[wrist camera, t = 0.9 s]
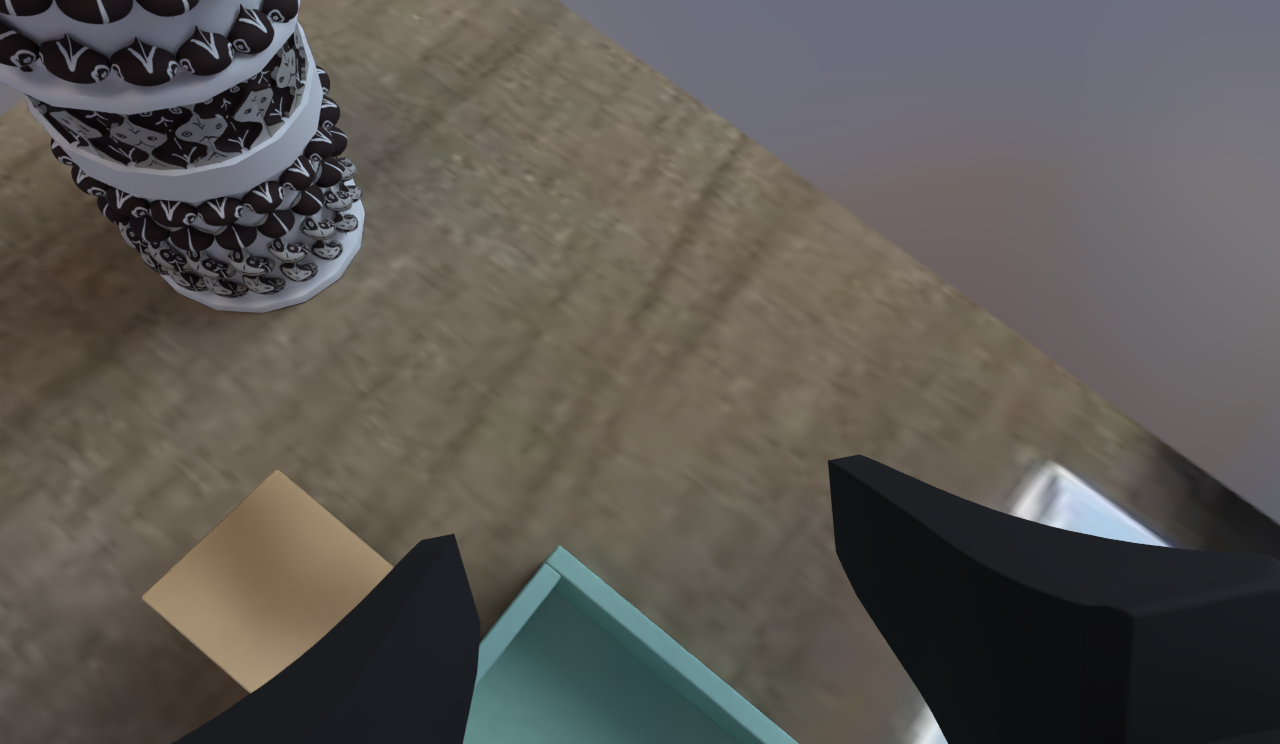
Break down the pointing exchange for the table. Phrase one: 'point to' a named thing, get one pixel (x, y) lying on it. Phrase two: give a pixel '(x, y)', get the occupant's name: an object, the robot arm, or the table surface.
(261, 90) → the decorative candle
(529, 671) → the desk bin
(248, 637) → the beech block
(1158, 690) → the robot arm
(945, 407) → the table surface
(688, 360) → the table surface
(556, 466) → the table surface
